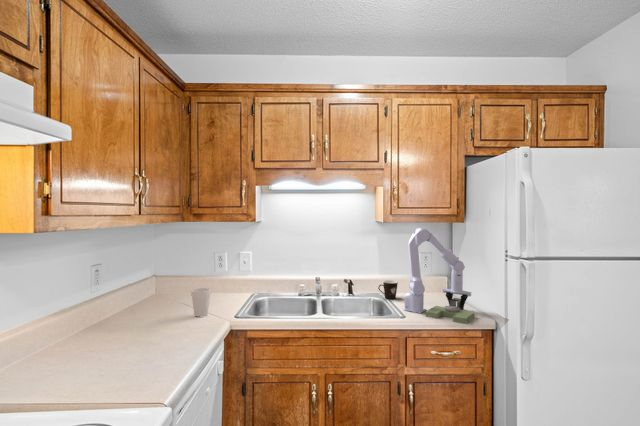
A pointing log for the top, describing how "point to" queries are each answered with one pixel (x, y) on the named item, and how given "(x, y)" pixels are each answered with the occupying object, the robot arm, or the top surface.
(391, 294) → the coffee mug
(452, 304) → the chute
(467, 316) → the notched green slab
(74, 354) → the top surface
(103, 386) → the top surface
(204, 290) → the foam cup
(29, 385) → the top surface
